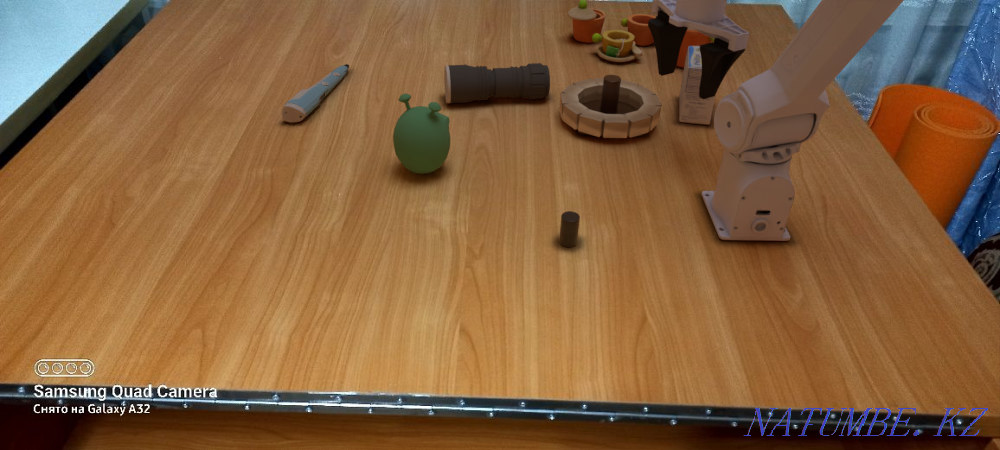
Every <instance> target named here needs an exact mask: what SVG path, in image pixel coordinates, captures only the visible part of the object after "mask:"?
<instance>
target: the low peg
mask: <svg viewBox="0 0 1000 450" xmlns="http://www.w3.org/2000/svg"><path fill="white" fill-rule="evenodd" d="M580 219H581V216H580V214H579V213H577V212H576V211H572V210H571V211H570V210H568V211H564V212H562V213H561V216H560V224H559V225H560V226H559V227H560V228H559V238H558V242H559V244H560V245H561V246H563V247H565V248H573V247H575V246H576V245H577V244H578V239H579V229H580V228H579V227H580V221H581V220H580Z"/></svg>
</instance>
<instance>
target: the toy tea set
mask: <svg viewBox="0 0 1000 450" xmlns="http://www.w3.org/2000/svg"><path fill="white" fill-rule="evenodd" d="M577 5H578V6H575V7H572V8H571V9H569V10H568V11H567V14H566V15H567V17H568V18H570V19H572V20H571V21H572V22H571V23H572V35H573V38H574V40H576V41H578V42H580V43H586V44H591V43H596V44H597V43H600V42H601V45H600V46H599V47H597V51H596V52H597V53H596V54H597V55H598V56H599V57H600V58H601V59H603V60H605V61H609V62H614V63H625V62H631V61H633V60H635V59H636V58H639V57H642V56H643V50H642V49H640V48H639V47H638V46H641V47H642V46H643V47H645V46H650V45H652V44H653V43H654V40H653V36H652V34H651V31H650V29H649V27H648V21H649V20H650V19H654V18H656V16H655V15H652V14H647V13H633V14H630V15H627V18H626V17H624V18H623V19H621V21H620V25H621V27H623V28H627V31H626V30H622V29H608V30H605V31H603V27H604V23H605V20H606V15H607V14H606V13H605V12H604V11H602V10H600V9H597V8H590V7H588V1H587V0H579V1H578V3H577ZM602 31H603V33H602ZM707 43H714V39H713V38H711V37H709V36H707V35H705V34H703V33H701V32H699V31H696V30H694V29H692V28H689V27H688V29H687V31H686V33H685V36H684V38H683V41H682V44H681V47H680V52H679V56H678V61H677V65H676V67H678V68H683V69H684V66H685V60H686V54H687V49H688V46H700V45H703V44H707Z"/></svg>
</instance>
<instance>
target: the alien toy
mask: <svg viewBox="0 0 1000 450" xmlns="http://www.w3.org/2000/svg"><path fill="white" fill-rule="evenodd" d="M411 98H412V95H411V94H410V93H401V94H400V96H399V97H398V102H401V103H404V105H405V108H406V110H405V111H404V112H403V113H402V114H401V115H400V116H399V117H398V119H397V121H396V123H395V125H394V130H393V134H392V141H393V142H392V143H393V149H394V152H395V155H396V157H397V159H398V161H399V162H400V163H401V165H402V166H403V167H404V168H406V170H408V171H410V172H412V173H415V174H419V175H420V174H421V175H423V174H424V175H425V174H430V173H432V172H435V171H437V170H438V169H439V168H440V167H442V165H443V164H444V163H445V162H446V160H447V158H448V156H449V152H450V149H451V133H450V117H449V116H447V115H445V114H442V113H441V112H440V111H441V110H442V105H441V104H439V103H438V102H437V101H432V102H429V103H428V106H425V105H424V106H423V105H418V106H413V107H411V105H410V103H409V102H410V100H411Z"/></svg>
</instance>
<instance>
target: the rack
mask: <svg viewBox="0 0 1000 450" xmlns="http://www.w3.org/2000/svg"><path fill="white" fill-rule="evenodd" d="M603 78H604V80H603V88H602V97H601V100H594V101H590V102H586V103H583V104H582V105H584V106H585V107H587V108H588V109H590V110H593V111H597V112H601V113H604V114H626V113H630V112H634V111H637V109H635V108H634V107H632V106H631V105H629V104H626V103H622V102H618V100H619V92H620V85H621V80H622V78H621V76H619V75H618V74H617V75H616V74H606V75H604V76H603ZM577 131H578V130H577ZM578 136H591V135H590V134H587V133H583V132H580V131H578ZM637 137H645V134H641V135H638V136H637Z"/></svg>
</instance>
